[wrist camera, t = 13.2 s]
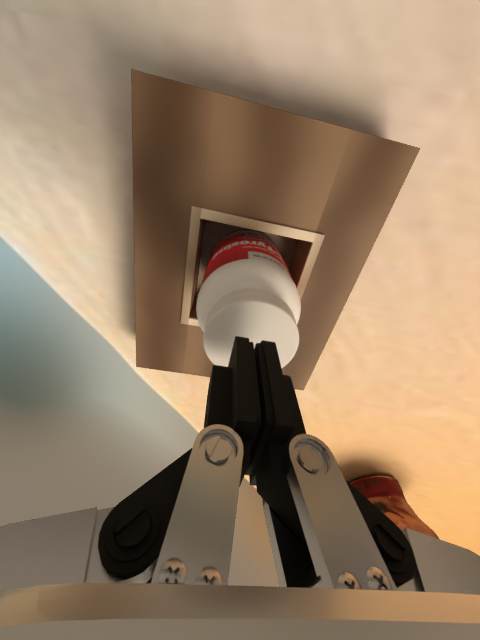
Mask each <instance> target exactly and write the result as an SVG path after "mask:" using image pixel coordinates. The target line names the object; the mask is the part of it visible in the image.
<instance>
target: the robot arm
mask: <svg viewBox="0 0 480 640" xmlns="http://www.w3.org/2000/svg"><path fill="white" fill-rule="evenodd" d="M244 475H249V476H250V485H256V486H257V492H258V493H259V495H260V496H261V497H262V498H263V509H264V514H265V519H266V524H267V528H268V533H269V538H270V543H271V547H272V553H273V558H274V562H275V567H276V572H277V577H278V582H279V587H264V586H228V577H229V569H230V560H231V552H232V544H233V535H234V527H235V518H236V510H237V502H238V494H239V487H240V485H241V482H242V480H243V477H244ZM0 640H480V556H479V555H477V554H476V553H474V552H472V551H470V550H468V549H465V548H462V547H459V546H457V545H454V544H451V543H448V542H445V541H442V540H439V539H437V538H434V537H431V536H428V535H425V534H422V533H420V532H417V531H414V530H411V529H408V528H405V529H404V530H401V529H400V528H399V527H398V526H397V525H396V524H395V523H394V522H393V521H392V520H391V519H389V518H388V517H387V516H386V515H385V514H384V513H383V512H382V511H380V510H379V509H378V508H377V507H376V506H375V505H374V504H373V503H371V502H370V501H369V500H368V499H367V498H366V497H365V496H363V495H362V494H361V493H360V492H359V491H358V490H357V489H356V488H354V487H353V486H352V485H351V484H350V483H349V482H348V481H346V480H345V479H344V477H343V475H342V473H341V470H340V468H339V466H338V464H337V462H336V460H335V458H334V456H333V454H332V452H331V451H330V449H329V448H328V446H327V445H326V444H325V443H324V442H323V441H321V440H320V439H318V438H317V437H314V436H312V435H309V434H306V431H305V427H304V424H303V420H302V416H301V413H300V409H299V405H298V401H297V398H296V394H295V390H294V387H293V383H292V379H291V377H290V376H289V375H283V373H282V368H281V364H280V360H279V356H278V351H277V347H276V343H275V342H271V341H264V340H262V341H261V343H256V345H255V348H254V344H253V342H249V338H245V337H239V336H235V340H234V344H233V348H232V352H231V356H230V360H229V364H228V367H225V366H218V365H213V367H212V372H211V377H210V383H209V389H208V396H207V405H206V413H205V422H204V429H203V430H202V431H201V432H200V433H199V434H198V435H197V437H196V440H195V442H194V445H193V448H191V449H190V450H189V451H187V452H186V453H185V454H183V455H182V456H181V457H180V458H178V459H177V460H176V461H174V462H173V463H172V464H170V465H169V466H168V467H166V468H165V469H164V470H162V471H161V472H160V473H158V474H157V475H156V476H154V477H153V478H152V479H150V480H149V481H148V482H146V483H145V484H144V485H142V486H141V487H140V488H138V489H137V490H136V491H134V492H133V493H132V494H131V495H129V496H128V497H126V498H125V499H124V500H123V501H121V502H120V503H119V504H118V505H117V506H116V507H112V508H107V509H102V510H97V507H96V508H91V509H85V510H80V511H75V512H69V513H64V514H59V515H53V516H49V517H43V518H38V519H32V520H27V521H22V522H16V523H11V524H7V525H4V526H2V527H0Z"/></svg>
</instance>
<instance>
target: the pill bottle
mask: <svg viewBox="0 0 480 640" xmlns="http://www.w3.org/2000/svg"><path fill="white" fill-rule="evenodd" d="M196 312H197V319H198V322H199V325H200V327H201V329H202V331H203V333H204V334H203V345H204V349H205V352H206V354H207V356H208V358H209V359H210V361H211V362H212V363H213V364H214V365H218V366H225V367H228V364H229V360H230V356H231V352H232V348H233V344H234V340H235V336H239V337H245V338H249V342H253V344H254V348H255V345H256V343H261V341H262V340H264V341H271V342H275V343H276V347H277V351H278V356H279V360H280V364H281V368H283V367H284V366H286V365H287V364H288V363H289V362H290V361H291V359H292V358H293V357H294V355H295V353H296V351H297V348H298V345H299V331H298V327H297V324H298V321H299V317H300V312H301V302H300V296H299V293H298V290H297V287H296V285H295V283H294V281H293V279H292V277H291V275H290V272H289V270H288V268H287V266H286V264H285V262H284V260H283V258H282V256H281V254H280V251H279V250H278V248H277V246H276V245H275V244H274V243H273V242H272V241H271V240H270V239H269V238H268V237H266V236H265V235H263V234H261V233H258V232H254V231H238V232H234V233H232V234H229V235H227V236H226V237H224V238H223V239H222V240H221V241H220V242H219V243H218V244H217V245H216V247H215V248H214V250H213V252H212V254H211V256H210V259H209V262H208V265H207V268H206V271H205V275H204V278H203V281H202V284H201V287H200V291H199V294H198V298H197V304H196Z"/></svg>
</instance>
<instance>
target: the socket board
mask: <svg viewBox="0 0 480 640" xmlns="http://www.w3.org/2000/svg"><path fill="white" fill-rule="evenodd" d="M131 82H132V141H133V200H134V258H135V317H136V367H142V368H149V369H156V370H163V371H171V372H178V373H185V374H192V375H199V376H206V377H211V372H212V367H213V365H214V364H213V363H212V362H211V361H210V359H209V358H208V356H207V354H206V352H205V349H204V345H203V334H204V333H203V331H202V329H201V327H200V325H199V322H198V319H197V312H196V304H197V298H195V297H196V289H197V281H198V273H199V265H200V257H201V249H202V241H203V233H204V225H205V220H210V221H215V222H219V223H224V224H229V225H234V226H238V227H243V228H248V229H252V230H257V231H262V232H266V233H271V234H276V235H280V236H285V237H290V238H294V239H298V242H297V245H296V248H295V251H294V254H293V257H292V260H291V263H290V266H289V272H290V275H291V277H292V279H293V281H294V283H295V285H296V287H297V290H298V293H299V296H300V302H301V312H300V317H299V321H298V324H297V327H298V331H299V345H298V348H297V351H296V353H295V355H294V357H293V358H292V359H291V361H290V362H289V363H288V364H287V365H286V366H284V367H283V368H282V373H283V375H289V376H290V377H291V379H292V383H293V387H294V389H298V390H304V388H305V386H306V384H307V382H308V380H309V378H310V376H311V374H312V372H313V370H314V367H315V365H316V363H317V361H318V359H319V357H320V355H321V353H322V351H323V349H324V347H325V345H326V343H327V341H328V338H329V336H330V334H331V332H332V330H333V328H334V326H335V324H336V322H337V320H338V318H339V316H340V314H341V312H342V309H343V307H344V305H345V303H346V301H347V299H348V297H349V295H350V293H351V291H352V289H353V287H354V285H355V283H356V281H357V278H358V276H359V274H360V272H361V270H362V268H363V266H364V264H365V262H366V260H367V258H368V256H369V254H370V252H371V249H372V247H373V245H374V243H375V241H376V239H377V237H378V235H379V233H380V231H381V229H382V227H383V225H384V223H385V220H386V218H387V216H388V214H389V212H390V210H391V208H392V206H393V204H394V202H395V200H396V198H397V196H398V194H399V191H400V189H401V187H402V185H403V183H404V181H405V179H406V177H407V175H408V173H409V171H410V169H411V167H412V165H413V162H414V160H415V158H416V156H417V154H418V152H419V150H420V148H418V147H414V146H410V145H407V144H403V143H399V142H396V141H392V140H388V139H385V138H381V137H377V136H374V135H370V134H366V133H363V132H359V131H355V130H352V129H348V128H345V127H341V126H337V125H334V124H330V123H326V122H323V121H319V120H315V119H312V118H308V117H304V116H301V115H297V114H293V113H290V112H286V111H283V110H279V109H275V108H272V107H268V106H264V105H261V104H257V103H253V102H250V101H246V100H242V99H239V98H235V97H231V96H228V95H224V94H220V93H217V92H213V91H210V90H206V89H202V88H199V87H195V86H191V85H188V84H184V83H180V82H177V81H173V80H169V79H166V78H162V77H158V76H155V75H151V74H148V73H144V72H140V71H137V70H133V69H131Z"/></svg>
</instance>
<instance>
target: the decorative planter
mask: <svg viewBox="0 0 480 640" xmlns="http://www.w3.org/2000/svg"><path fill="white" fill-rule="evenodd" d="M350 484H351V485H352V486H353V487H354V488H356V489H357V490H358V491H359V492H360V493H361V494H362V495H363V496H365V497H366V498H367V499H368V500H369V501H370V502H371V503H373V504H374V505H375V506H376V507H377V508H378V509H379V510H380V511H382V512H383V513H384V514H385V515H386V516H387V517H388V518H389V519H391V520H392V521H393V522H394V523H395V524H396V525H397V526H398V527H399V528H400V529H401V530H404V529H405V528H408V529H411V530H414V531H417V532H420V533H422V534H425V535H428V536H431V537H434V538H437V539H439V538H438V536H437V535H436V533H435V532H434V531H433V530H432V529H430V528H429V527H428V526H427V525H426V524H425V523H424V522H423V521H422V520H420V519H419V517H418V516H417V515H416V514H415V512H414V511H413V510H412V508H411V507H410V506H409V505H408V503H407V502H406V500H405V497H404V495H403V491H402V489H401V487H400V485H399V483H398V481H397V480H396V479H394V478H392V477H388V476H372V477H366V478H362V479H358V480H355V481H352V482H350ZM439 540H440V539H439Z"/></svg>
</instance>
